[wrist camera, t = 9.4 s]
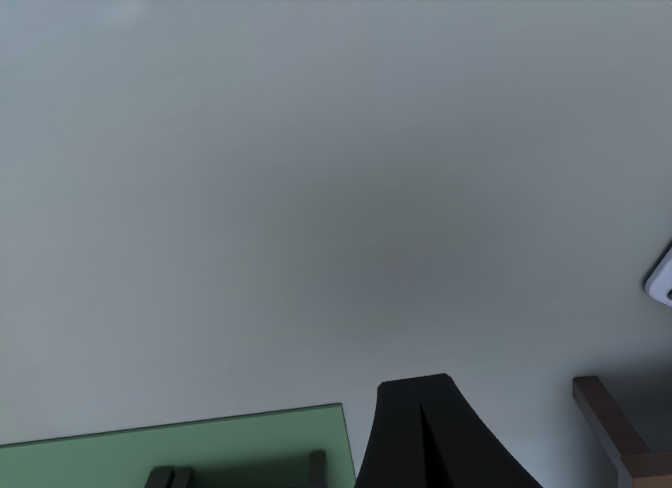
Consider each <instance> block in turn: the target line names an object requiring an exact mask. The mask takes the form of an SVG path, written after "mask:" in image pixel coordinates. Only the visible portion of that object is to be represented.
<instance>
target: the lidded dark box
mask: <svg viewBox="0 0 672 488" xmlns="http://www.w3.org/2000/svg"><path fill="white" fill-rule="evenodd" d="M194 481H195V477H194V475H193V472H192V469H191V468H188V469H180V470H177V471H176V474H175V476H174V473H173V470H172V468H167V469H159V470H152V471H150V474H149V476H148V479H147V481H146V484H145V486H144V488H193V484H194ZM327 481H328V462H327V457H326V453H325V452H323V453H314V454H310V463H309V479H308V484H307V485H299V486H290V487H281V488H329V487H328V484H327Z"/></svg>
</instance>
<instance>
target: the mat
mask: <svg viewBox="0 0 672 488" xmlns="http://www.w3.org/2000/svg"><path fill="white" fill-rule="evenodd" d="M323 452H325V453H326V457H327V462H328V481H327V484H328V487H329V488H354V486H355V483H356V478H355V473H354V467H353V462H352V457H351V452H350V446H349V441H348V436H347V431H346V425H345V420H344V415H343V410H342V404H334V405H326V406H317V407H309V408H301V409H293V410H285V411H277V412H269V413H261V414H253V415H245V416H237V417H229V418H221V419H213V420H205V421H197V422H189V423H181V424H173V425H165V426H157V427H149V428H141V429H133V430H125V431H117V432H109V433H101V434H93V435H84V436H76V437H68V438H60V439H52V440H44V441H36V442H28V443H20V444H12V445H4V446H0V488H144V486H145V484H146V481H147V479H148V476H149V474H150V471H152V470H159V469H167V468H172V470H173V473H174V476H175V474H176V471H177V470H180V469H188V468H191V469H192V472H193V475H194V477H195V481H194V484H193V488H281V487H290V486H299V485H307V484H308V479H309V463H310V454H314V453H323Z"/></svg>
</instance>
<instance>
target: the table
mask: <svg viewBox="0 0 672 488" xmlns="http://www.w3.org/2000/svg"><path fill="white" fill-rule="evenodd" d="M573 398H574V399H575V401H576V403H577V404H578V406H579V408H580V409H581V411H582V413H583V414H584V416H585V418H586V419H587V421H588V423H589V424H590V426H591V428H592V429H593V431H594V433H595V434H596V436H597V437H598V439H599V441H600V442H601V444H602V446H603V447H604V449H605V451H606V452H607V454H608V456H609V457H610V459H611V461H612V462H613V464H614V466H615V467H616V469H617V470H618V472H619V474H618V488H672V451H664V452H655V453H651V452H650V451H649V449H648V448H647V446H646V445H645V444H644V442H643V441H642V439H641V438H640V436H639V435H638V434H637V432H636V431H635V429H634V428H633V427H632V425H631V424H630V422H629V421H628V419H627V418H626V417H625V415H624V414H623V412H622V411H621V409H620V408H619V407H618V405H617V404H616V402H615V401H614V400H613V398H612V397H611V395H610V394H609V392H608V391H607V390H606V388H605V387H604V385H603V384H602V383H601V381H600V380H599V378H598V377H597V376H593V377H585V378H576V379H574V380H573Z"/></svg>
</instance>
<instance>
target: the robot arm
mask: <svg viewBox="0 0 672 488" xmlns="http://www.w3.org/2000/svg"><path fill="white" fill-rule="evenodd" d="M671 289H672V247H671V249H670V250H669V251H668V253H667V254H666V256H665V257H664V258H663V260H662V261H661V262H660V264H659V265H658V267H657V268H656V269H655V271H654V272H653V273H652V275H651V276H650V278H649V279H648V280H647V282H646V284H645V291H646V293H647V294H648V295H649V296H650V297H651V298H653V299H654V300H656V301H659V302H661V303H663V304H666V305H668V306H671V307H672V294H671V295H667V294H668V292H669V291H670V290H671ZM354 488H543V487H542V486H541V485H540V484H539V483H538V482H537V481H536V480H535V479H534V478H533V477H532V476H531V475H530V474H529V473H528V472H527V471H526V470H525V469H524V468H523V467H522V466H521V465H520V463H519V462H518V461H517V460H516V459H515V458H514V457H513V456H512V455H511V454H510V453H509V452H508V451H507V449H506V448H505V447H504V446H503V445H502V444H501V443H500V441H499V440H498V439H497V438H496V437H495V436H494V435H493V433H492V432H491V431H490V430H489V429H488V428H487V426H486V425H485V424H484V423H483V421H482V420H481V419H480V418H479V416H478V415H477V414H476V413H475V411H474V410H473V409H472V407H471V406H470V405H469V403H468V402H467V401H466V399H465V398H464V397H463V395H462V394H461V392H460V391H459V389H458V388H457V386H456V385H455V383H454V381H453V380H452V378H451V377H450V376H448V375H447V374H446V373H443V374H436V375H429V376H422V377H415V378H407V379H400V380H393V381H386V382H382V383H381V384H380V385H379V386H378V388H377V404H376V411H375V416H374V421H373V425H372V430H371V434H370V438H369V441H368V445H367V448H366V452H365V456H364V459H363V463H362V466H361V469H360V472H359V475H358V477H357V480H356V483H355V486H354Z"/></svg>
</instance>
